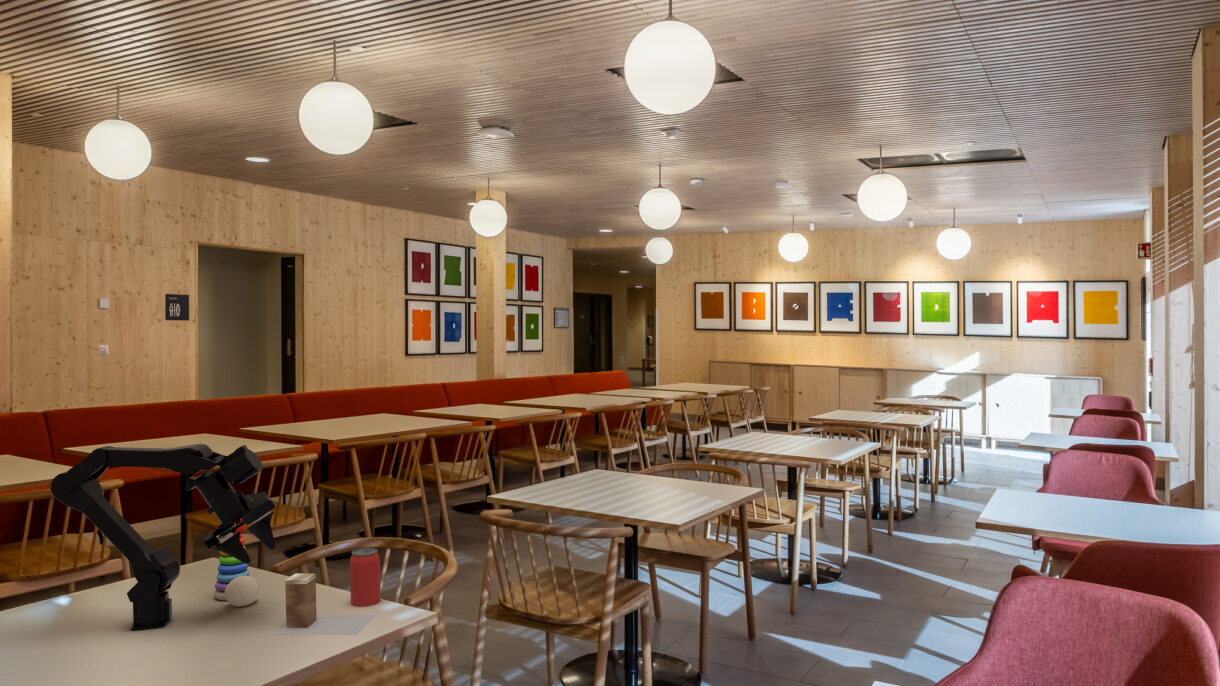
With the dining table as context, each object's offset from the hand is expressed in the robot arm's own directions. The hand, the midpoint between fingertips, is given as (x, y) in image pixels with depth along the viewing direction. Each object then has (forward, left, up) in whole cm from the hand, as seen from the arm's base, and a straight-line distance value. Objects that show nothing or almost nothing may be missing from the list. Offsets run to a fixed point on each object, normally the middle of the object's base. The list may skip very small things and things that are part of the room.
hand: (261, 556), depth 175 cm
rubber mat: (+13, -10, -14) cm, 22 cm away
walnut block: (+8, -8, -13) cm, 17 cm away
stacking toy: (-9, +18, -14) cm, 25 cm away
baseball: (-6, +10, -14) cm, 18 cm away
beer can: (+21, +2, -14) cm, 26 cm away
